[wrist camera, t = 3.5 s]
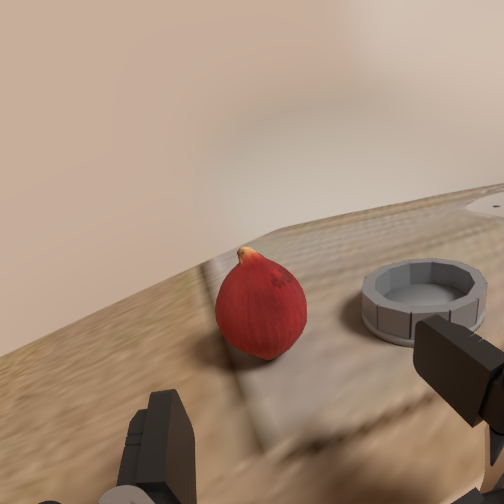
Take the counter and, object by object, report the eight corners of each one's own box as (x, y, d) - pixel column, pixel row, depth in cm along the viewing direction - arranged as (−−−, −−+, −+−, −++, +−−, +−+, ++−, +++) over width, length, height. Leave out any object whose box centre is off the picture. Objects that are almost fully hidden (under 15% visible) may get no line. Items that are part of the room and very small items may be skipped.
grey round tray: (458, 363, 15) (464, 328, 14) (335, 324, 23) (332, 295, 23) (496, 293, 20) (499, 266, 20) (401, 276, 29) (399, 252, 28)
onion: (291, 327, 24) (274, 229, 22) (328, 361, 19) (314, 241, 17) (221, 351, 23) (194, 250, 21) (243, 394, 18) (211, 270, 16)
